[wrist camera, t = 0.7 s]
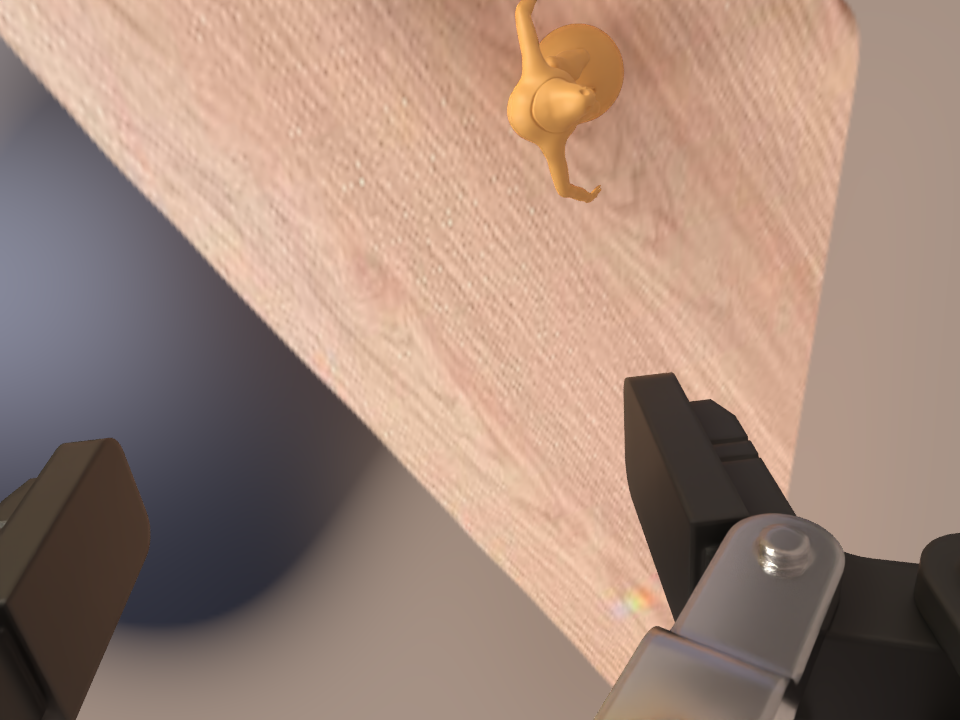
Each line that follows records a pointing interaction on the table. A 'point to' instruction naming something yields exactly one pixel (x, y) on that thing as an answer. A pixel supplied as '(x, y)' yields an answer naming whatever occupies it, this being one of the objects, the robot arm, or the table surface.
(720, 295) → the table surface
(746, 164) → the table surface
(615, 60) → the figurine
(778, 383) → the table surface
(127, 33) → the table surface
